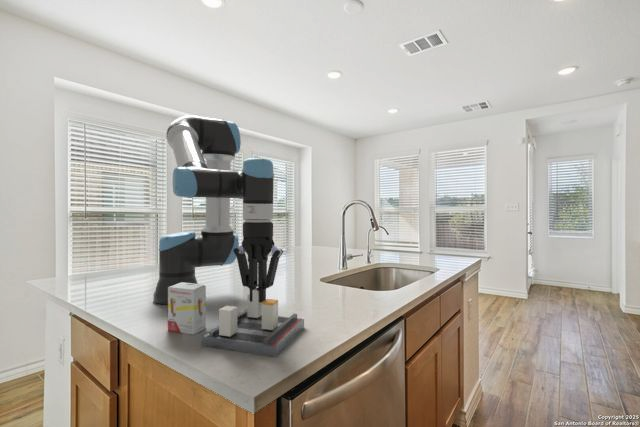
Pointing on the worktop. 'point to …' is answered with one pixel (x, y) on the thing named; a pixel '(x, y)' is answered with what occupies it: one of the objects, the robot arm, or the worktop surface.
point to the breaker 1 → (227, 321)
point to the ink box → (186, 308)
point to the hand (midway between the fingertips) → (257, 314)
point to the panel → (256, 335)
